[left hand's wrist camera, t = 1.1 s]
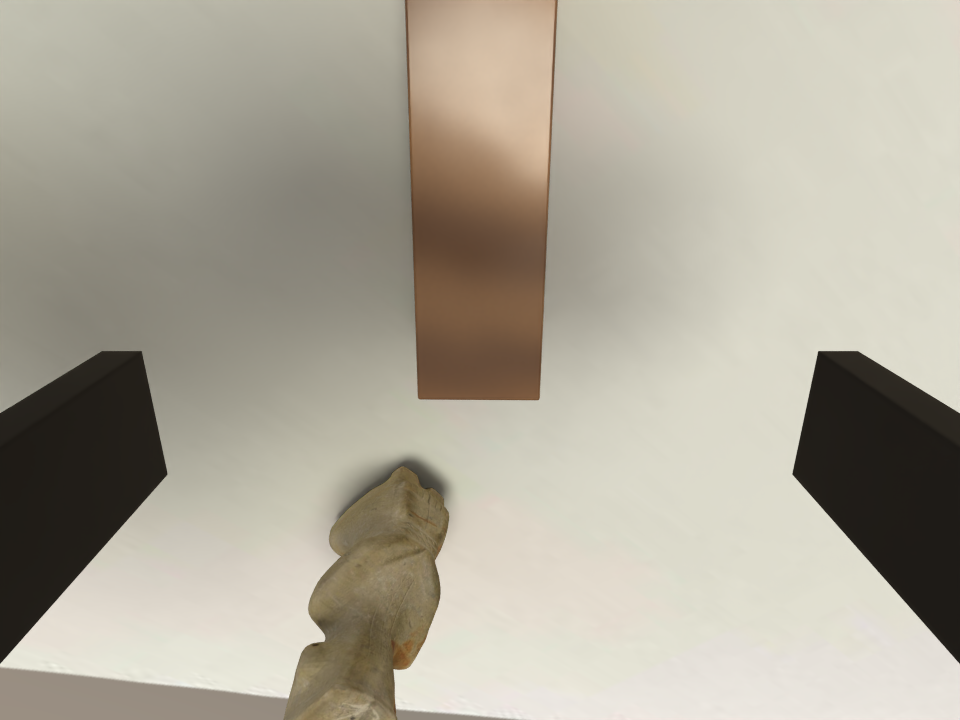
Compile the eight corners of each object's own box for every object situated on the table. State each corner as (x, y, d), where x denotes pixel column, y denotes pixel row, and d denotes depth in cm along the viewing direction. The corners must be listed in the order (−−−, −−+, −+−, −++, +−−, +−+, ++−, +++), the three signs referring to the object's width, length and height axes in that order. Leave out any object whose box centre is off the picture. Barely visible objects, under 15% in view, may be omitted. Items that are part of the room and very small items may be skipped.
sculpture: (318, 511, 37) (219, 746, 23) (401, 439, 35) (348, 645, 21) (388, 568, 39) (334, 821, 25) (471, 502, 37) (464, 733, 23)
